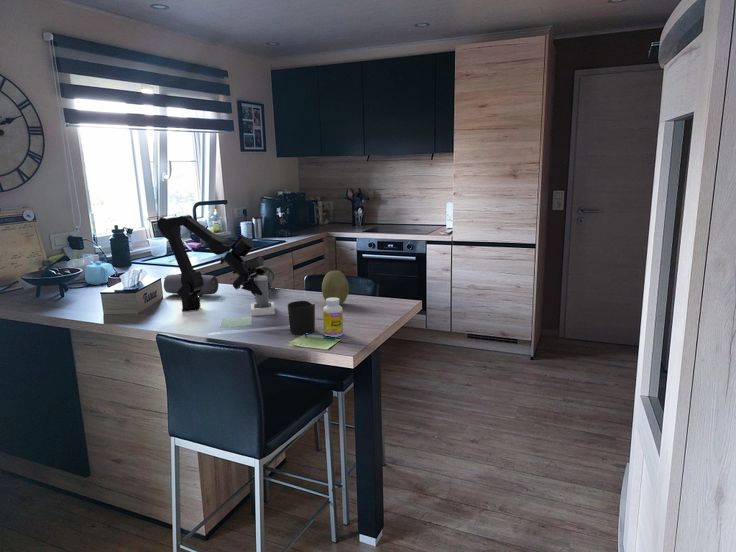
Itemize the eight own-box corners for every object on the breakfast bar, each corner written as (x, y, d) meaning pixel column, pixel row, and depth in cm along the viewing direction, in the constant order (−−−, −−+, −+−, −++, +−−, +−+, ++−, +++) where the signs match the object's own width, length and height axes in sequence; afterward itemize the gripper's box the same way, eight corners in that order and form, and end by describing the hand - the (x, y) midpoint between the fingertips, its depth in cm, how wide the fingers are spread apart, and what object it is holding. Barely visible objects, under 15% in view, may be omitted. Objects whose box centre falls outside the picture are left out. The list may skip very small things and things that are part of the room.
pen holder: (317, 327, 184) (316, 300, 182) (313, 335, 175) (312, 307, 172) (291, 327, 184) (290, 300, 182) (286, 335, 175) (285, 307, 173)
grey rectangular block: (256, 311, 198) (254, 278, 195) (256, 307, 203) (254, 276, 200) (269, 310, 199) (267, 277, 196) (269, 306, 204) (267, 275, 201)
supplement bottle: (330, 339, 170) (329, 302, 168) (320, 334, 176) (318, 298, 173) (346, 335, 174) (345, 299, 171) (336, 330, 179) (335, 295, 177)
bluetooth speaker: (163, 297, 230) (161, 276, 228) (175, 292, 239) (172, 272, 237) (210, 299, 226) (208, 277, 224) (219, 294, 235) (218, 272, 233)
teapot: (104, 278, 273) (102, 257, 271) (120, 283, 262) (117, 261, 260) (80, 282, 264) (77, 261, 262) (95, 287, 253) (91, 265, 250)
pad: (220, 330, 182) (220, 327, 182) (222, 321, 193) (221, 318, 193) (251, 327, 185) (251, 324, 184) (251, 318, 195) (251, 316, 195)
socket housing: (251, 318, 196) (251, 309, 195) (251, 311, 205) (250, 303, 204) (275, 316, 198) (274, 307, 197) (274, 310, 207) (273, 301, 206)
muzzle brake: (249, 300, 224) (248, 277, 222) (255, 285, 251) (254, 265, 249) (271, 299, 225) (270, 276, 223) (275, 285, 252) (273, 264, 250)
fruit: (354, 303, 214) (353, 269, 211) (338, 310, 205) (337, 274, 202) (332, 300, 220) (331, 266, 217) (316, 306, 211) (315, 271, 208)
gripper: (237, 254, 188) (266, 285, 188) (261, 246, 206) (287, 274, 205) (220, 274, 192) (248, 304, 191) (245, 265, 210) (271, 292, 209)
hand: (265, 293), depth 199 cm, fingers closed on grey rectangular block, 5 cm apart
